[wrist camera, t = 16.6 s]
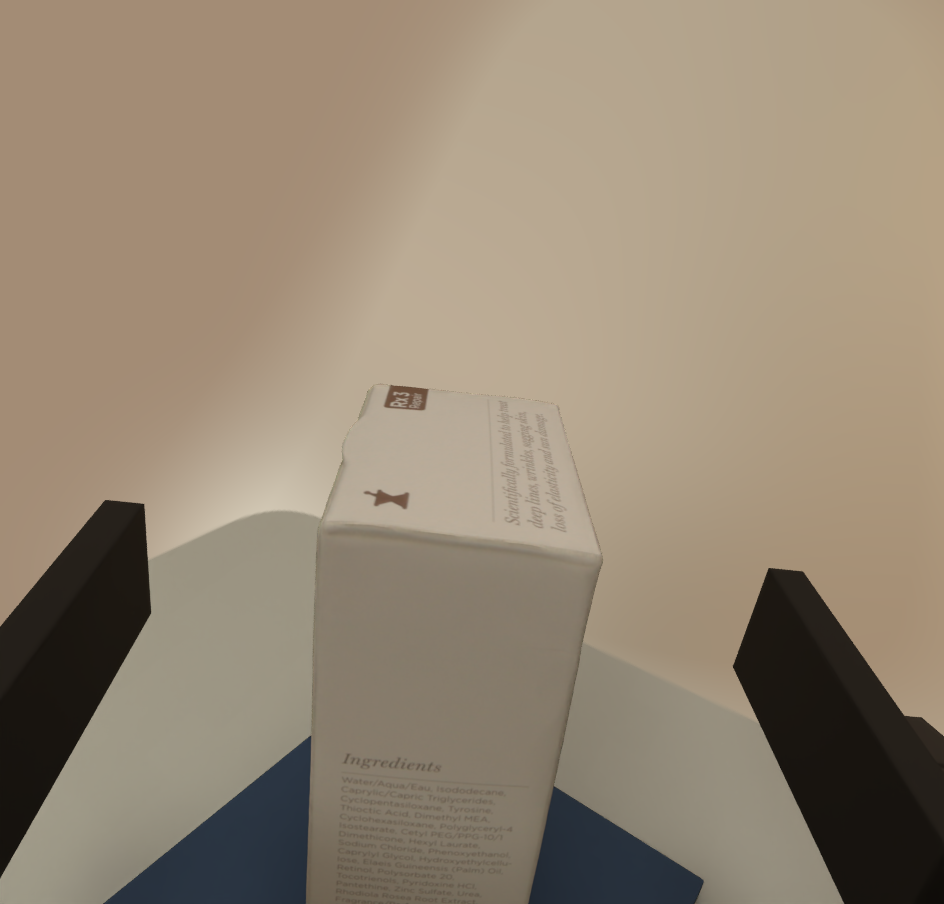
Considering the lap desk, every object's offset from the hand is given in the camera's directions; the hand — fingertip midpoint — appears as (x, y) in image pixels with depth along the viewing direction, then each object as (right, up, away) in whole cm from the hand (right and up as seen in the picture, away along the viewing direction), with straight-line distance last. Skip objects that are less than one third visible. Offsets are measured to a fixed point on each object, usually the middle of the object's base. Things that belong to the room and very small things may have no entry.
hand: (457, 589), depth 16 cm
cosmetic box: (-1, -8, +2) cm, 8 cm away
